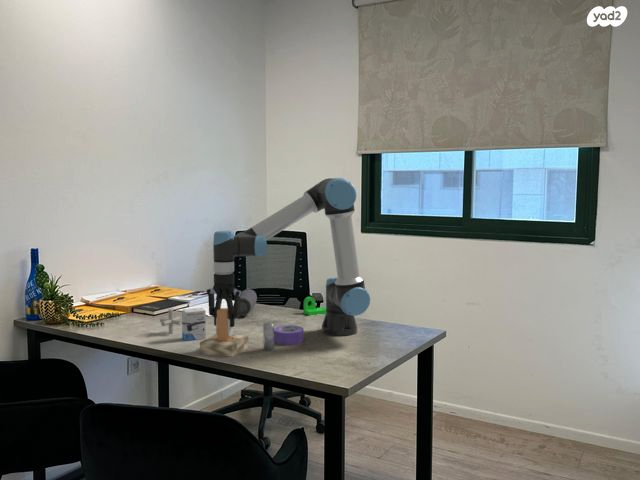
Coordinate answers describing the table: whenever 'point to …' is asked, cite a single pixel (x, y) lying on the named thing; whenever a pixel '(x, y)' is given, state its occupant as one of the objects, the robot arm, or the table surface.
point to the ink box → (193, 324)
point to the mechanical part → (312, 307)
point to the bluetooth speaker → (247, 301)
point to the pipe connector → (170, 321)
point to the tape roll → (288, 334)
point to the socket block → (224, 345)
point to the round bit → (268, 336)
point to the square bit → (223, 325)
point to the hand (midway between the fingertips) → (224, 334)
